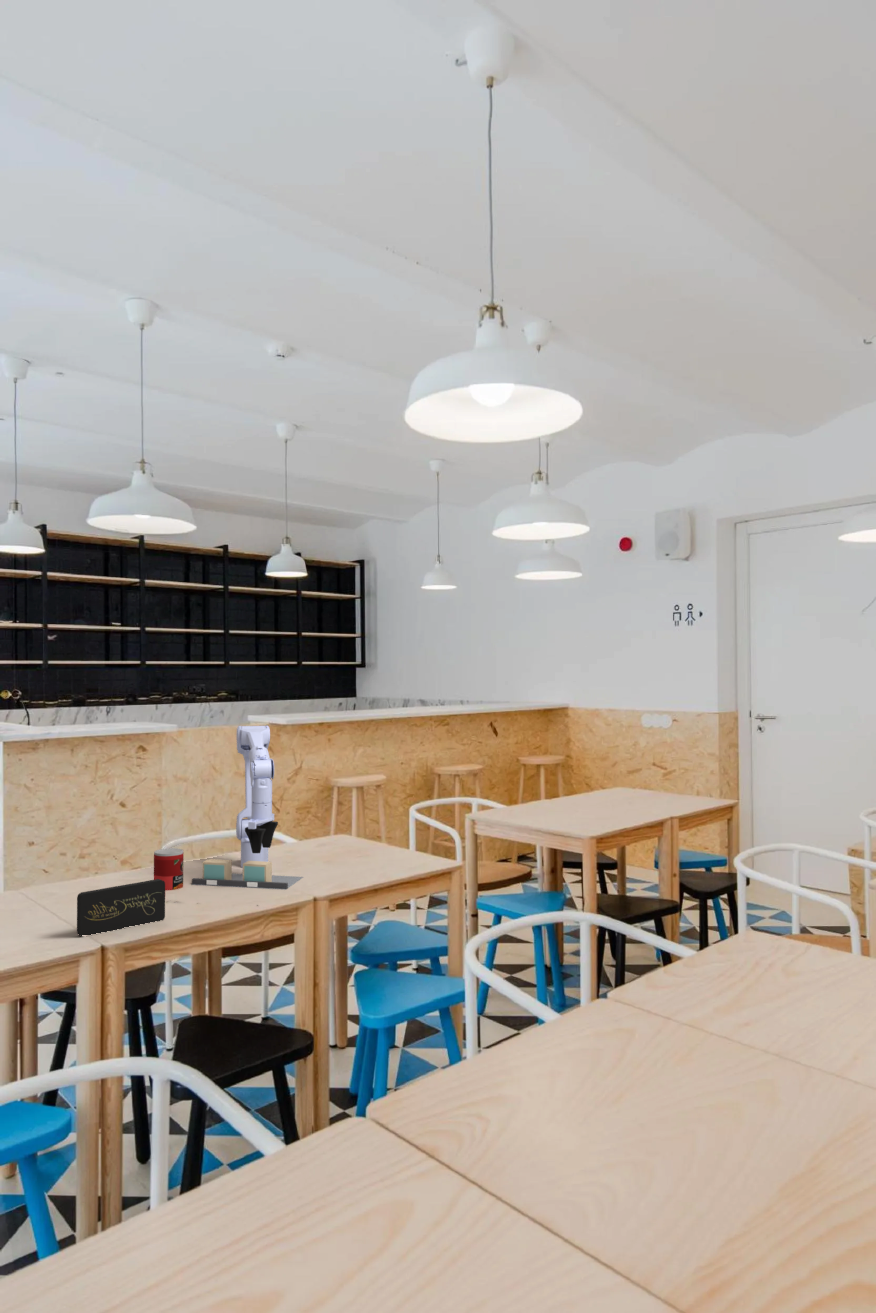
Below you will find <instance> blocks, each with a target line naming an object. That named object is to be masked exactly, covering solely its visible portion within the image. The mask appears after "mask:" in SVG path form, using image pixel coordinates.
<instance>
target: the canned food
mask: <svg viewBox="0 0 876 1313" xmlns="http://www.w3.org/2000/svg"><path fill="white" fill-rule="evenodd" d="M184 859H185V858H184V850H183V849H182V848H173V847H172V848H170V847H169V848H168V847H167V848H161V849H160V848H159V849H156V850H154V851H153V880H155V879H160V880H163V881H164V882H165V892H167V891H176V890H179V889H182V888H184Z"/></svg>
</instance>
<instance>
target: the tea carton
mask: <svg viewBox="0 0 876 1313" xmlns="http://www.w3.org/2000/svg"><path fill="white" fill-rule="evenodd" d="M272 870H273V862H272V861H268V862H264V861H247V862H245V863H243V868H242V874H243V881H262V882H272V875H273V874H272V873H273V871H272Z"/></svg>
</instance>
